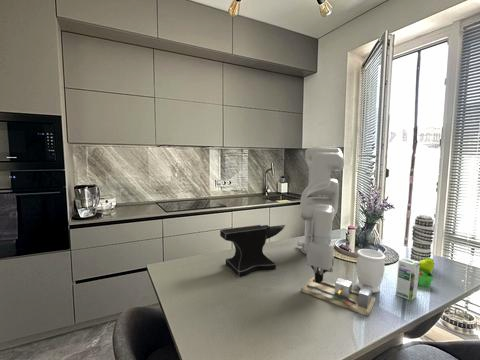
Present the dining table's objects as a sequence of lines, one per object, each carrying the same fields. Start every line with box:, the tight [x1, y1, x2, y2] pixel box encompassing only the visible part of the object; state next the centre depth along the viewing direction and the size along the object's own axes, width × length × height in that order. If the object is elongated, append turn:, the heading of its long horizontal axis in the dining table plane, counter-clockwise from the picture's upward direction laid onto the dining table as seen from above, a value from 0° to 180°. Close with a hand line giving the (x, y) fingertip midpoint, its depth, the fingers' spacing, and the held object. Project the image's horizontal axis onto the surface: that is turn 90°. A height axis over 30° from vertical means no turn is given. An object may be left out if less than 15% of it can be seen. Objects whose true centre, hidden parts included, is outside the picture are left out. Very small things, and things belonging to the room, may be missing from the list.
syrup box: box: [395, 257, 420, 302], centre depth 99 cm, size 6×6×14 cm
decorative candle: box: [409, 214, 435, 262], centre depth 130 cm, size 9×9×25 cm
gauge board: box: [300, 277, 376, 317], centre depth 99 cm, size 25×12×2 cm, turn 53°
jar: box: [356, 248, 386, 294], centre depth 105 cm, size 11×10×15 cm
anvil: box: [219, 224, 286, 279], centre depth 122 cm, size 35×15×20 cm, turn 117°
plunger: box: [334, 277, 353, 299], centre depth 96 cm, size 5×9×5 cm, turn 143°
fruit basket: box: [418, 257, 435, 288], centre depth 111 cm, size 11×9×11 cm
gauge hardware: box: [307, 279, 373, 309], centre depth 98 cm, size 22×8×5 cm, turn 53°
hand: (318, 281), depth 103 cm, fingers closed
